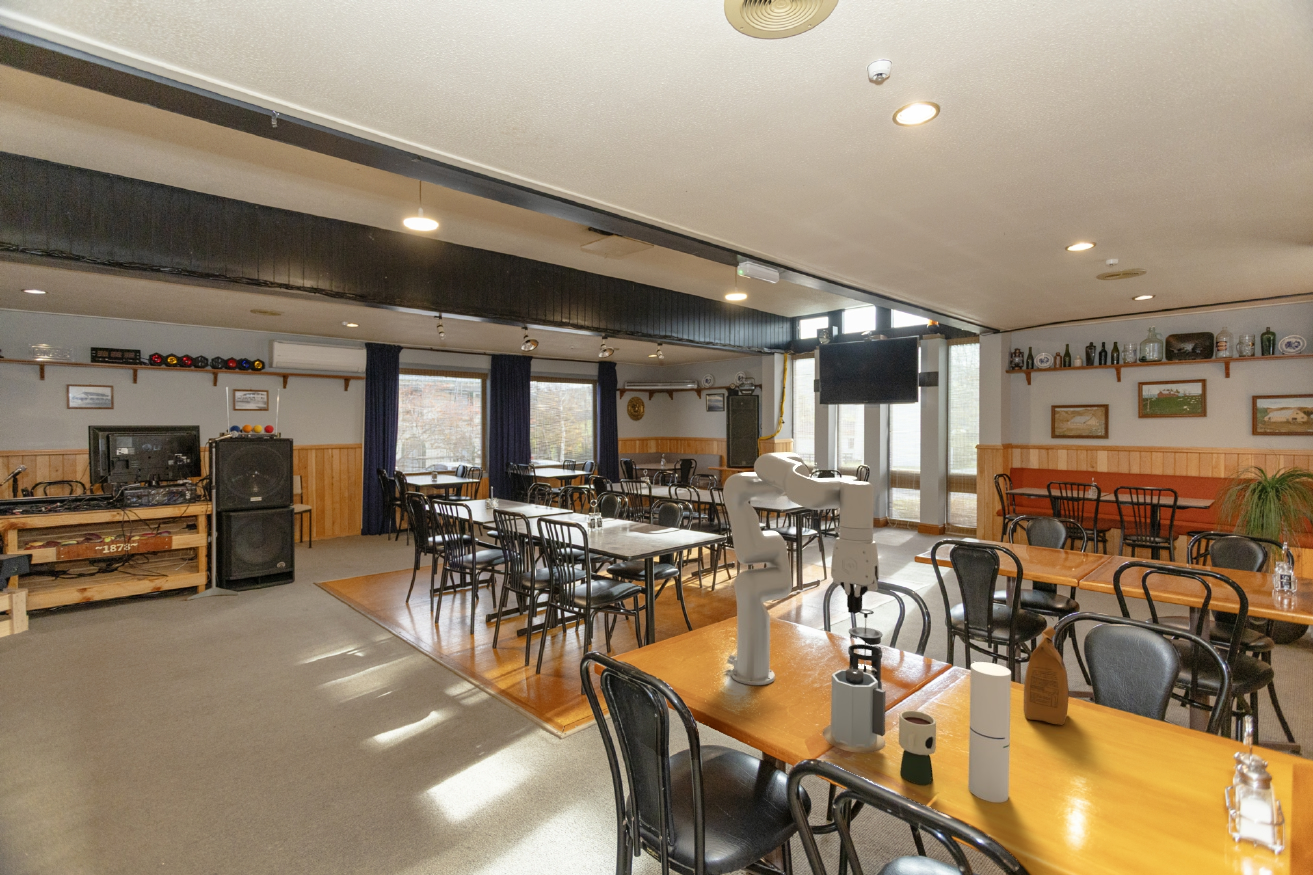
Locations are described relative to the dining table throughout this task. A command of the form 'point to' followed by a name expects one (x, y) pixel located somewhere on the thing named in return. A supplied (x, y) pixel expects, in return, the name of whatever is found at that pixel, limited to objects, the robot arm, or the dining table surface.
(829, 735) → the trivet
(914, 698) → the dining table surface
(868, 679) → the carafe
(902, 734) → the character mug
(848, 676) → the plunger
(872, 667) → the french press
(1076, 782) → the dining table surface
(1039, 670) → the coffee package
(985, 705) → the cylindrical container
